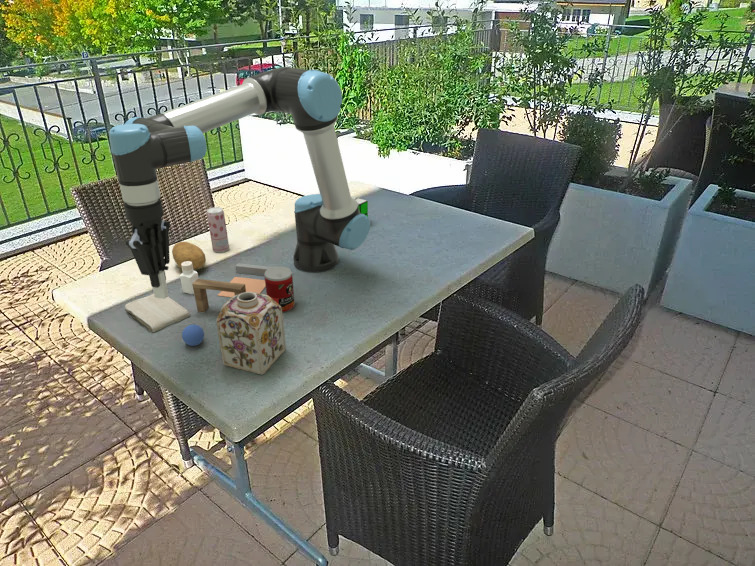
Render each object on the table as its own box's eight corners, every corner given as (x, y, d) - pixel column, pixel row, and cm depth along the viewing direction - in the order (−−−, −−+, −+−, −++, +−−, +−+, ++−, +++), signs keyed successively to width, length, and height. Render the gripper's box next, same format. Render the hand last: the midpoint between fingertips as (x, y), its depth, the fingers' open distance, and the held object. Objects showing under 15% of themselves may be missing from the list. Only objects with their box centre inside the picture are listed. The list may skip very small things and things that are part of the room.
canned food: (283, 315, 153) (279, 281, 148) (262, 307, 157) (258, 274, 152) (300, 303, 159) (297, 270, 154) (279, 296, 163) (276, 263, 157)
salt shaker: (193, 295, 163) (187, 267, 159) (182, 293, 164) (176, 265, 160) (201, 289, 167) (196, 261, 162) (190, 286, 168) (185, 259, 163)
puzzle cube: (348, 219, 216) (347, 195, 211) (368, 224, 211) (368, 200, 206) (332, 227, 209) (331, 202, 204) (352, 233, 204) (352, 208, 199)
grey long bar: (279, 274, 175) (278, 267, 174) (276, 277, 173) (275, 270, 172) (239, 269, 178) (238, 263, 176) (236, 272, 176) (235, 265, 175)
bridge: (202, 306, 158) (197, 278, 153) (248, 312, 155) (245, 284, 150) (197, 311, 155) (192, 283, 151) (244, 317, 152) (240, 289, 148)
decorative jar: (222, 365, 133) (211, 303, 124) (248, 340, 143) (239, 280, 134) (264, 376, 130) (255, 313, 121) (288, 349, 139) (282, 289, 130)
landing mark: (270, 281, 171) (270, 280, 171) (254, 300, 161) (254, 299, 160) (235, 277, 173) (234, 276, 173) (217, 295, 163) (217, 295, 163)
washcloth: (160, 296, 164) (158, 287, 162) (192, 317, 153) (190, 308, 152) (122, 311, 156) (119, 302, 155) (153, 335, 146) (151, 325, 144)
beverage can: (217, 254, 188) (211, 214, 180) (210, 249, 191) (203, 209, 184) (232, 249, 191) (226, 210, 184) (224, 244, 195) (218, 205, 187)
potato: (187, 280, 172) (183, 257, 168) (168, 265, 180) (163, 243, 177) (215, 270, 177) (212, 248, 174) (195, 256, 186) (191, 235, 182)
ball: (209, 339, 143) (206, 321, 140) (199, 351, 138) (195, 333, 136) (190, 336, 144) (187, 319, 141) (179, 348, 139) (175, 330, 137)
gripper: (145, 189, 121) (163, 281, 132) (106, 209, 110) (130, 308, 121) (175, 192, 120) (191, 285, 131) (139, 212, 108) (159, 312, 120)
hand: (161, 296), depth 126 cm, fingers closed
